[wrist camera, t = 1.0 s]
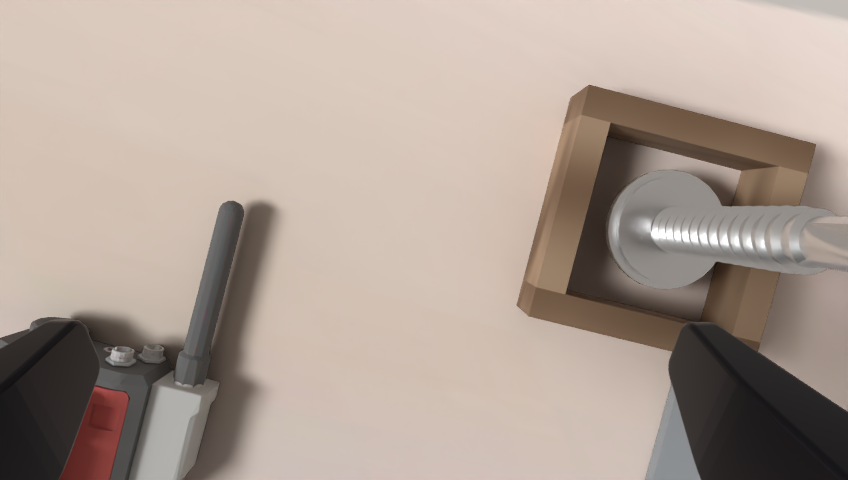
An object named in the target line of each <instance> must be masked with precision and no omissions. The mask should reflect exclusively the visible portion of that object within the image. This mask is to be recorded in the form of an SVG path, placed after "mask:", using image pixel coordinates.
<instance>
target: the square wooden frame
mask: <svg viewBox="0 0 848 480" xmlns="http://www.w3.org/2000/svg"><path fill="white" fill-rule="evenodd" d="M607 136H610V137H613V138H617V139H621V140H625V141H629V142H633V143H637V144H640V145H644V146H648V147H652V148H656V149H660V150H664V151H668V152H671V153H675V154H679V155H683V156H687V157H691V158H695V159H698V160H702V161H706V162H710V163H714V164H718V165H722V166H725V167H729V168H733V169H737V170H741V171H742V172H741V176H740V179H739V183H738V186H737V190H736V194H735V197H734V201H733V204H732V206H741V207H742V206H785V205H788V206H794V207H795V206H799V204H800V200H801V197H802V193H803V190H804V186H805V183H806V179H807V175H808V172H809V168H810V165H811V161H812V158H813V154H814V151H815V147H816V144H813V143H810V142H806V141H802V140H798V139H794V138H791V137H787V136H783V135H779V134H775V133H771V132H768V131H764V130H760V129H756V128H752V127H749V126H745V125H741V124H737V123H733V122H729V121H726V120H722V119H718V118H714V117H710V116H707V115H703V114H699V113H695V112H691V111H687V110H684V109H680V108H676V107H672V106H668V105H665V104H661V103H657V102H653V101H649V100H645V99H642V98H638V97H634V96H630V95H626V94H623V93H619V92H615V91H611V90H607V89H603V88H600V87H596V86H592V85H588V86H587V87H585V88H584V89H582V90H581V91H580V92H578V93H577V94H575V95H574V96H572V97H571V99H570V103H569V106H568V110H567V114H566V118H565V122H564V126H563V129H562V133H561V137H560V141H559V145H558V149H557V152H556V156H555V160H554V164H553V168H552V172H551V176H550V179H549V183H548V187H547V191H546V195H545V199H544V202H543V206H542V210H541V214H540V218H539V222H538V226H537V229H536V233H535V237H534V241H533V245H532V249H531V252H530V256H529V260H528V264H527V268H526V272H525V276H524V279H523V283H522V287H521V291H520V295H519V299H518V302H517V306H518V307H519V308H520V309H521V310H522V311H523V312H525V313H526V314H527V315H528V316H530V317H534V318H538V319H542V320H546V321H550V322H554V323H558V324H562V325H566V326H571V327H575V328H579V329H583V330H587V331H591V332H595V333H599V334H603V335H607V336H611V337H615V338H619V339H624V340H628V341H632V342H636V343H640V344H644V345H648V346H652V347H656V348H660V349H664V350H668V351H673V349H674V346H675V343H676V340H677V338H678V335H679V332H680V330H681V328H682V326H683V325H684V324H685V323H688V322H694V321H690V320H686V319H682V318H678V317H674V316H670V315H666V314H662V313H658V312H653V311H649V310H645V309H641V308H637V307H633V306H629V305H625V304H621V303H617V302H613V301H609V300H605V299H601V298H597V297H593V296H589V295H585V294H581V293H577V292H573V291H569V290H567V286H568V282H569V278H570V275H571V271H572V267H573V263H574V259H575V256H576V252H577V248H578V244H579V240H580V237H581V233H582V229H583V225H584V222H585V218H586V214H587V210H588V206H589V203H590V199H591V195H592V191H593V187H594V184H595V180H596V176H597V172H598V169H599V165H600V161H601V157H602V153H603V150H604V146H605V142H606V138H607ZM779 275H780V272H778V271H769V270H765V269H757V268H753V267H745V266H741V265H733V264H730V263H722V262H716V266H715V269H714V273H713V277H712V280H711V284H710V288H709V291H708V295H707V298H706V302H705V306H704V309H703V313H702V316H701V320H700V322H711V323H715V324H717V325H718V326H720V327H721V328H723V329H724V330H726V331H727V332H729V333H730V334H732V335H733V336H735V337H736V338H738V339H739V340H741V341H742V342H744V343H745V344H747V345H748V346H750V347H751V348H753V349H754V350H756V351H757V352H758V349H759V345H760V342H761V338H762V335H763V331H764V328H765V324H766V320H767V317H768V313H769V310H770V306H771V303H772V299H773V296H774V292H775V289H776V285H777V282H778V278H779Z"/></svg>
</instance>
